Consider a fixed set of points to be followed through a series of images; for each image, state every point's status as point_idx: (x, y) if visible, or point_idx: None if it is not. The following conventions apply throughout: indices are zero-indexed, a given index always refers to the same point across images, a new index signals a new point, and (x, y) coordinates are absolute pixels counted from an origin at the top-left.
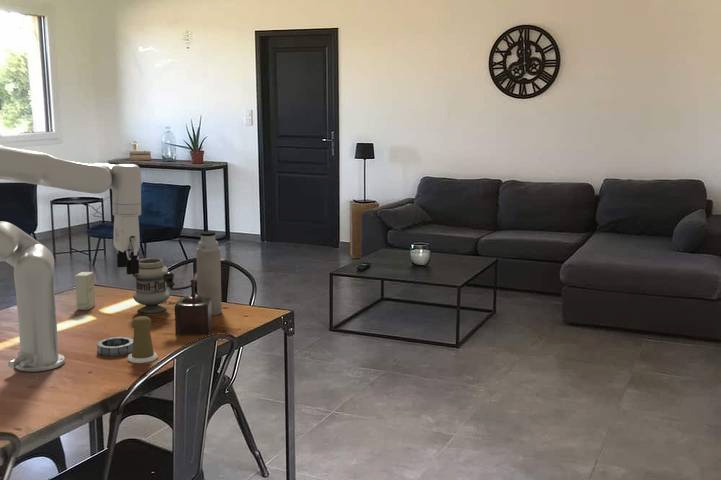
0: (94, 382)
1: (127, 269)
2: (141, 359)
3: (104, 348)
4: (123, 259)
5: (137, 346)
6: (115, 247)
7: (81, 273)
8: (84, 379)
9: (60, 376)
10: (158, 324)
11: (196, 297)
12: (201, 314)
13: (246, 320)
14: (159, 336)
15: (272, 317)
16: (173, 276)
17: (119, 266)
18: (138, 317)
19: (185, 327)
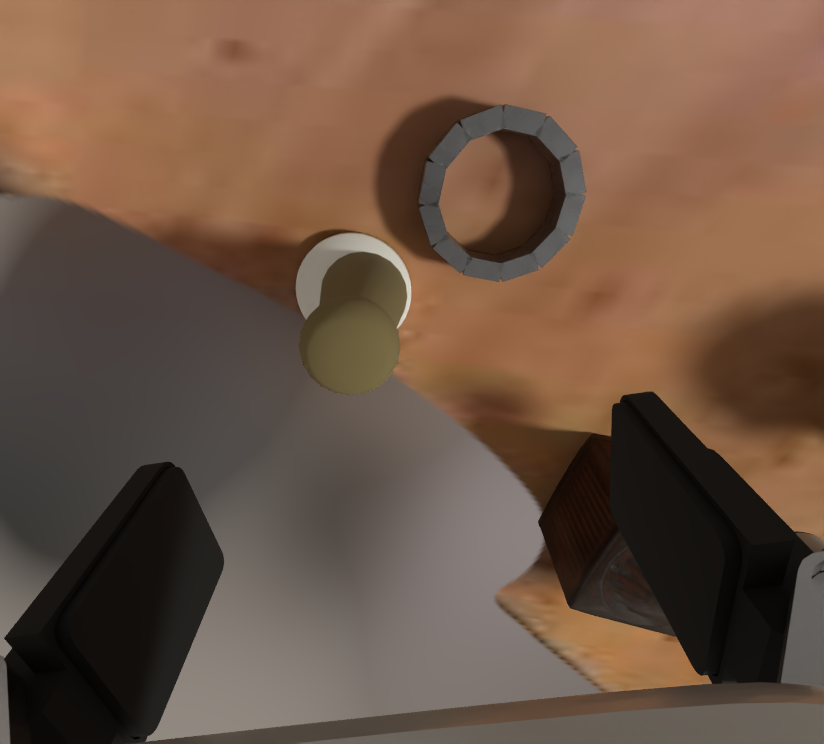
0: (95, 60)
1: (113, 508)
2: (307, 283)
3: (444, 137)
4: (658, 534)
5: (325, 285)
6: (593, 729)
7: None
8: (139, 13)
9: None
10: (759, 396)
11: (654, 607)
12: (569, 563)
13: (626, 630)
14: (601, 380)
15: (615, 684)
16: None
17: (614, 417)
18: (345, 344)
19: (581, 479)
